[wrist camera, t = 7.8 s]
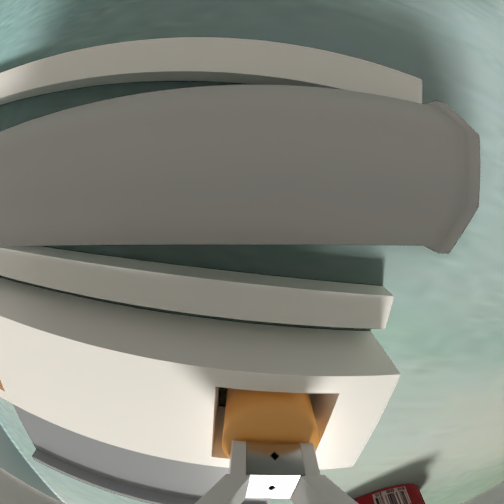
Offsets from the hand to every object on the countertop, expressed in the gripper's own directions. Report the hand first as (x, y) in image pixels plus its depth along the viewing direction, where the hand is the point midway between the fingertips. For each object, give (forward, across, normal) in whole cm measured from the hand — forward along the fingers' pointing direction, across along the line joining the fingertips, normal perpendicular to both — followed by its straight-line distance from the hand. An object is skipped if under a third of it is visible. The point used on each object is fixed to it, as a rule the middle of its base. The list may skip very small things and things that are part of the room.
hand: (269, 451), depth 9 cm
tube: (+5, +8, -9) cm, 13 cm away
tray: (+4, +8, +9) cm, 13 cm away
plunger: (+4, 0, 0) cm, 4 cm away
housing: (+4, +8, -6) cm, 11 cm away
